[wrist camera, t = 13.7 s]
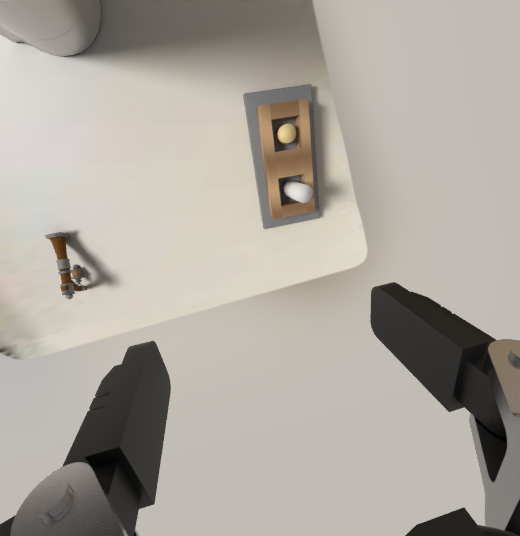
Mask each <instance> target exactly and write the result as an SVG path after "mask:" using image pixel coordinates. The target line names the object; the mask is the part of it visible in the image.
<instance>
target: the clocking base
mask: <svg viewBox="0 0 520 536" xmlns="http://www.w3.org/2000/svg"><path fill="white" fill-rule="evenodd" d="M243 96H244V103H245V110H246V116H247V123H248V129H249V136H250V143H251V149H252V156H253V162H254V169H255V176H256V182H257V189H258V195H259V202H260V209H261V215H262V222H263V227H264V229H267V228H272V227H277V226H282V225H286V224H291V223H296V222H301V221H306V220H311V219H316V218H319V206H318V189H317V173H316V156H315V139H314V122H313V105H312V88H311V84H309V85H302V86H295V87H288V88H281V89H274V90H267V91H260V92H253V93H245V94H244V95H243ZM301 99H308V104H309V120H310V136H311V152H312V168H313V184H314V201H315V211H314V212H309V213H304V214H299V215H294V216H289V217H284V218H279V219H273V218H272V217H271V214H270V206H269V199H268V191H267V184H266V176H265V169H264V161H263V154H262V146H261V139H260V131H259V124H258V116H257V108H258V107H259V106H260V105H266V104H273V103H280V102H287V101H294V100H301ZM271 122H272V131H273V139H274V148H275V152H277V151H283V150H289V149H295V148H297V141H296V129H295V118H289V119H282V120H275V121H271ZM278 183H279V192H280V200H281V203H284V202H289V201H295V200H296V201H299V202H301V203H306V202H308V201H309V200H310V199H311V198H312V195H313V191H312V188H311V187H310V186H309V185H306V184H302V183H300V178H299V175H295V176H290V177H284V178H279V179H278Z"/></svg>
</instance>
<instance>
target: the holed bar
mask: <svg viewBox="0 0 520 536" xmlns="http://www.w3.org/2000/svg"><path fill="white" fill-rule="evenodd" d="M257 116H258V124H259V131H260V139H261V146H262V154H263V161H264V169H265V176H266V184H267V191H268V199H269V206H270V214H271V217H272V218H273V219H279V218H284V217H289V216H294V215H299V214H304V213H309V212H314V211H315V201H314V184H313V168H312V152H311V136H310V120H309V104H308V99H301V100H294V101H287V102H280V103H273V104H266V105H260V106H259V107H258V108H257ZM289 118H295V129H296V141H297V148H295V149H289V150H283V151H277V152H275V148H274V139H273V131H272V122H271V121H275V120H282V119H289ZM295 175H299V178H300V183H302V184H306V185H309V186H310V187H311V188H312V191H313V195H312V198H311V199H310V200H309V201H308V202H306V203H301V202H299V201H296V200H295V201H289V202H284V203H281V200H280V192H279V183H278V179H279V178H284V177H290V176H295Z"/></svg>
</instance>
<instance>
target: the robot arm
mask: <svg viewBox="0 0 520 536" xmlns="http://www.w3.org/2000/svg"><path fill="white" fill-rule="evenodd" d="M100 22H101V3H100V0H0V34H1V35H2V36H4V37H6V38H7V39H9V40H11V41H12V42H26V43H28V44H30V45H31V46H33V47H35V48H37V49H38V50H40V51H43V52H46V53H49V54H52V55H58V56H69V55H75V54H77V53H80V52H82V51H84V50H85V49H86V48H87V47H89V46H90V45H91V43H92V42H93V41H94V39H95V38H96V36H97V33H98V31H99V28H100ZM371 327H372V329H373V332H374V334H375V335H376V337H377V338H378V339H379V340H380V341H381V342H382V343H383V344H384V345H385V346H386V347H387V348H388V349H389V350H390V351H391V352H392V353H393V354H394V356H395V357H396V358H397V359H398V360H399V361H400V362H401V363H402V364H403V365H404V366H405V367H406V368H407V369H408V370H409V371H410V372H411V373H412V374H413V375H414V376H415V377H416V378H417V379H418V380H419V381H420V382H421V383H422V385H423V386H424V387H425V388H426V389H427V390H428V391H429V392H430V393H431V394H432V395H433V396H434V397H435V398H436V399H437V400H438V401H439V402H440V403H441V404H442V405H443V406H444V407H445V408H446V409H447V410H448V411H449V412H451V411H454V410H457V409H460V408H463V407H465V408H466V409H467V410H468V411H469V412H470V413H471V414H470V418H469V421H470V426H471V430H472V435H473V440H474V444H475V449H476V453H477V458H478V462H479V466H480V471H481V475H482V479H483V484H484V490H485V524H486V526H480V525H477V524H476V523H475V521H474V520H473V519H472V517H471V516H470V515H469V513H468V512H467V511H466V509H465V508H461V509H459V510H456V511H453V512H450V513H448V514H445V515H442V516H440V517H437V518H434V519H432V520H429V521H426V522H424V523H421V524H418V525H416V526H415V527H414V528H413V529H412V530H411V531H410V532H409V533H408V534H407V535H406V536H520V341H519V340H510V339H502V340H496V339H494V338H492V337H491V336H489V335H488V334H486V333H484V332H483V331H481V330H480V329H478V328H476V327H475V326H473V325H471V324H470V323H468V322H467V321H465V320H463V319H462V318H460V317H459V316H457V315H455V314H452V313H451V312H450V311H449V310H447V309H446V308H444V307H441V306H440V305H439V304H438V303H436V302H435V301H433V300H431V299H429V298H428V297H425V296H422V295H420V294H417V293H414V292H409V291H408V290H406V289H405V288H403V287H402V286H400V285H399V284H397V283H395V282H393V283H389V284H384V285H380V286H377V287H374V288H373V289H372V291H371ZM170 390H171V387H170V379H169V375H168V372H167V370H166V367H165V364H164V362H163V359H162V357H161V355H160V352H159V350H158V347H157V345H156V343H155V342H154V341H151V342H146V343H142V344H138V345H134V346H130V347H129V348H128V350H127V352H126V354H125V357H124V359H123V362H122V364H121V365H117V366H114V367H113V368H112V370H111V371H110V372H109V373H108V374H107V375H106V376H105V378H104V379H103V380H102V382H101V384H100V386H99V388H98V391H97V393H96V395H95V396H96V397H95V398H94V399H93V401H92V403H91V406H90V411H88V412H87V414H86V416H85V419H84V421H83V423H82V425H81V427H80V430H79V432H78V434H77V436H76V438H75V440H74V443H73V445H72V447H71V449H70V451H69V453H68V456H67V458H66V460H65V462H64V464H63V467H61V468H60V469H58V470H56V471H54V472H53V473H52V474H50V475H49V476H47V477H46V478H45V479H44V480H43V481H42V482H40V483H39V484H38V485H37V486H36V488H34V489H33V491H32V492H31V493H30V494H29V495H28V497H27V498H26V499H25V501H24V502H23V503H22V505H21V507H20V508H19V510H18V512H17V514H16V515H15V516H14V517H12V518H10V519H9V520H7V521H5V522H4V523H2V524H0V536H139V534H138V532H137V531H136V530H135V526H136V520H137V515H138V510H139V509H140V508H144V507H146V506H150V505H153V504H154V502H155V496H156V489H157V482H158V475H159V468H160V461H161V455H162V448H163V441H164V433H165V426H166V420H167V413H168V406H169V398H170Z"/></svg>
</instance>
